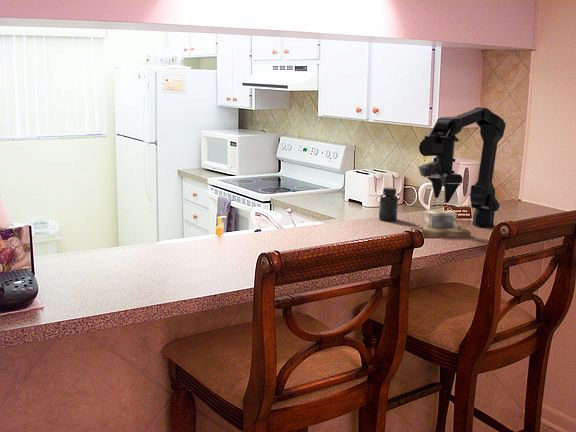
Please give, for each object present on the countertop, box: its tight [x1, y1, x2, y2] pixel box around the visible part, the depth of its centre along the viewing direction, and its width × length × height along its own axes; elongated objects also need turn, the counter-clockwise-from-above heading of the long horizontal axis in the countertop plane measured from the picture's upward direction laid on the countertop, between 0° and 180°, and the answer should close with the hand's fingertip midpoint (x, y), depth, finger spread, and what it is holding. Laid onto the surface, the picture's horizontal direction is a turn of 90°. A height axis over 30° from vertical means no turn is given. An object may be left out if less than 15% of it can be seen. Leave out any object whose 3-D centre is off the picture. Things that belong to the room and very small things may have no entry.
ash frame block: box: [423, 210, 458, 229], centre depth 235 cm, size 10×5×6 cm, turn 100°
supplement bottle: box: [378, 187, 399, 222], centre depth 256 cm, size 7×7×12 cm
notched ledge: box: [409, 225, 472, 238], centre depth 235 cm, size 18×10×2 cm, turn 100°
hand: (441, 200), depth 234 cm, fingers open, 9 cm apart
